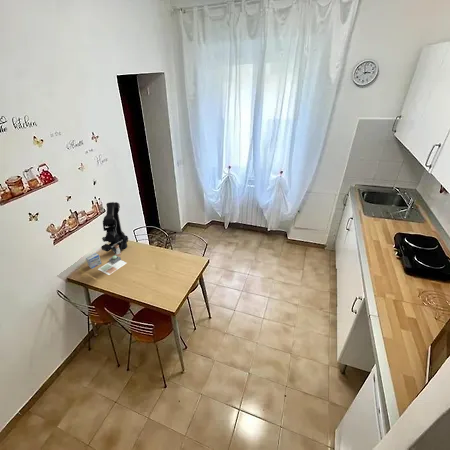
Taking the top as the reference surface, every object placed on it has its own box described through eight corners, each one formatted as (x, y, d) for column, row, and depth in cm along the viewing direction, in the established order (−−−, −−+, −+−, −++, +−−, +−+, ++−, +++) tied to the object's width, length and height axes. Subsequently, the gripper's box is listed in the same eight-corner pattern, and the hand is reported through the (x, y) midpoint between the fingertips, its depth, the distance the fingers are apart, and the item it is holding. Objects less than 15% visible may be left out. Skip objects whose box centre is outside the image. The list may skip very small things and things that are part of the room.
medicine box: (92, 269, 185) (88, 260, 180) (88, 267, 187) (85, 257, 183) (102, 264, 190) (99, 254, 186) (98, 261, 192) (95, 252, 188)
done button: (115, 257, 194) (114, 255, 193) (117, 258, 192) (117, 256, 191) (111, 259, 191) (111, 257, 190) (114, 260, 190) (113, 258, 189)
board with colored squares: (116, 257, 197) (115, 254, 196) (129, 263, 190) (128, 260, 189) (95, 270, 184) (94, 267, 182) (108, 277, 177) (108, 274, 176)
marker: (118, 252, 187) (116, 243, 183) (122, 254, 186) (119, 245, 182) (114, 255, 185) (112, 246, 181) (118, 256, 183) (115, 247, 179)
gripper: (116, 225, 187) (121, 243, 195) (93, 237, 173) (99, 255, 181) (126, 229, 182) (130, 247, 190) (103, 241, 168) (109, 260, 176)
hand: (117, 252), depth 184 cm, fingers closed on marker, 4 cm apart
